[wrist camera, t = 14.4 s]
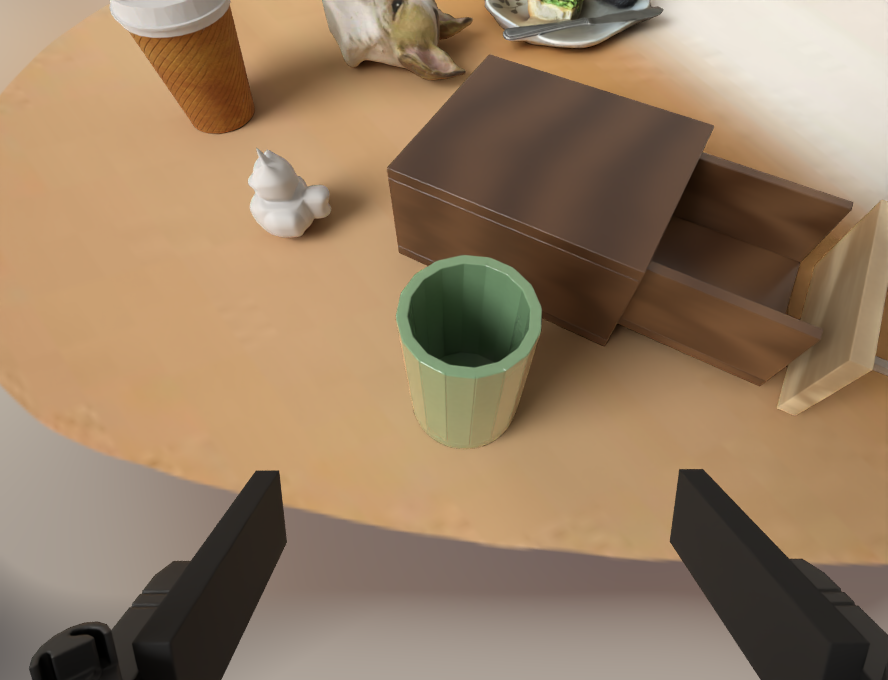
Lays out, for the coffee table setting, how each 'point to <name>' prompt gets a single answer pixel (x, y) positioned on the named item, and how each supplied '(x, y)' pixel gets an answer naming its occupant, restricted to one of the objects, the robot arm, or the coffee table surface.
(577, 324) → the cabinet
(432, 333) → the pot
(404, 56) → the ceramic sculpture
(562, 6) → the avocado toast plate
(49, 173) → the coffee table surface
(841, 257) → the drawer
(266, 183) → the white animal figurine
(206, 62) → the disposable coffee cup
